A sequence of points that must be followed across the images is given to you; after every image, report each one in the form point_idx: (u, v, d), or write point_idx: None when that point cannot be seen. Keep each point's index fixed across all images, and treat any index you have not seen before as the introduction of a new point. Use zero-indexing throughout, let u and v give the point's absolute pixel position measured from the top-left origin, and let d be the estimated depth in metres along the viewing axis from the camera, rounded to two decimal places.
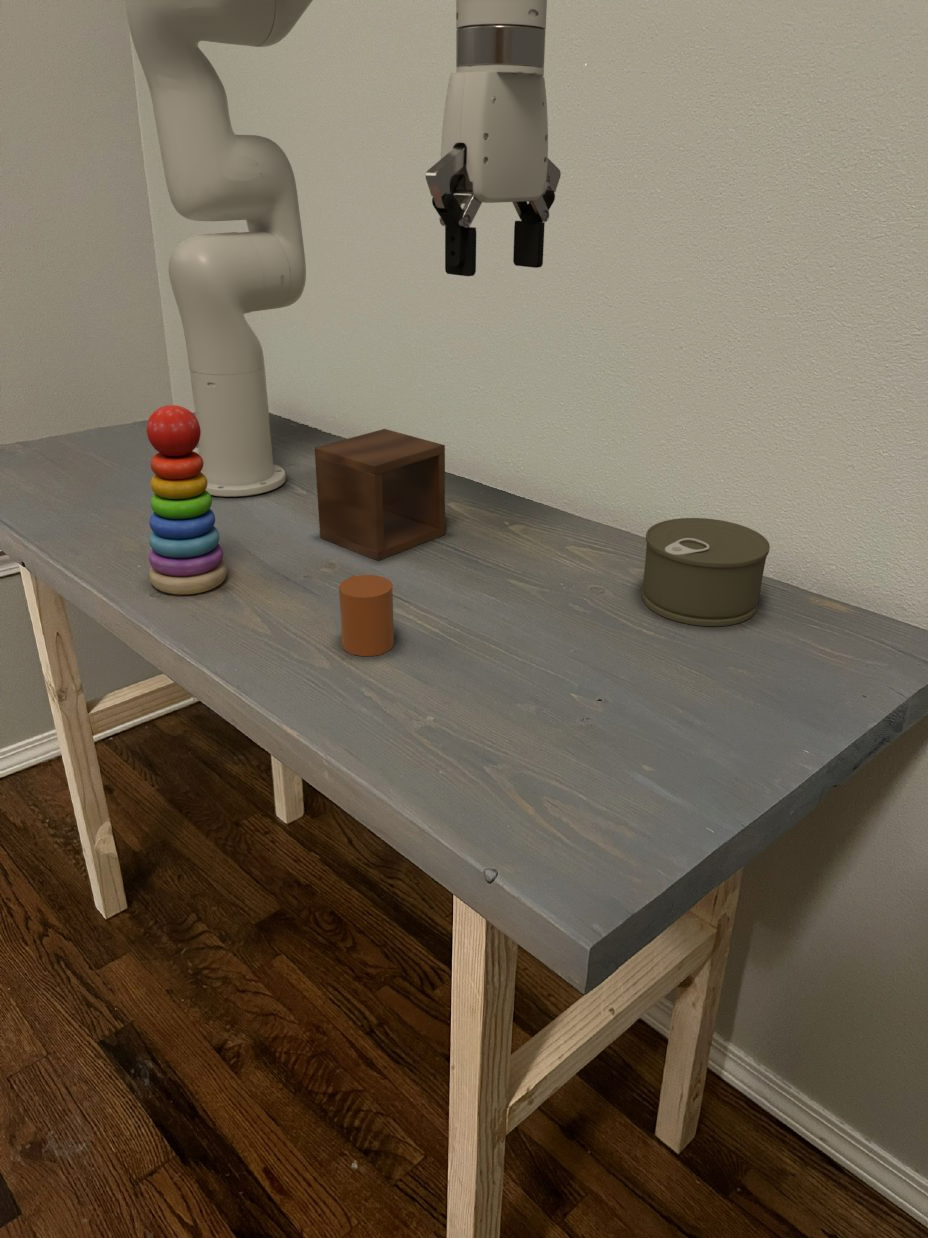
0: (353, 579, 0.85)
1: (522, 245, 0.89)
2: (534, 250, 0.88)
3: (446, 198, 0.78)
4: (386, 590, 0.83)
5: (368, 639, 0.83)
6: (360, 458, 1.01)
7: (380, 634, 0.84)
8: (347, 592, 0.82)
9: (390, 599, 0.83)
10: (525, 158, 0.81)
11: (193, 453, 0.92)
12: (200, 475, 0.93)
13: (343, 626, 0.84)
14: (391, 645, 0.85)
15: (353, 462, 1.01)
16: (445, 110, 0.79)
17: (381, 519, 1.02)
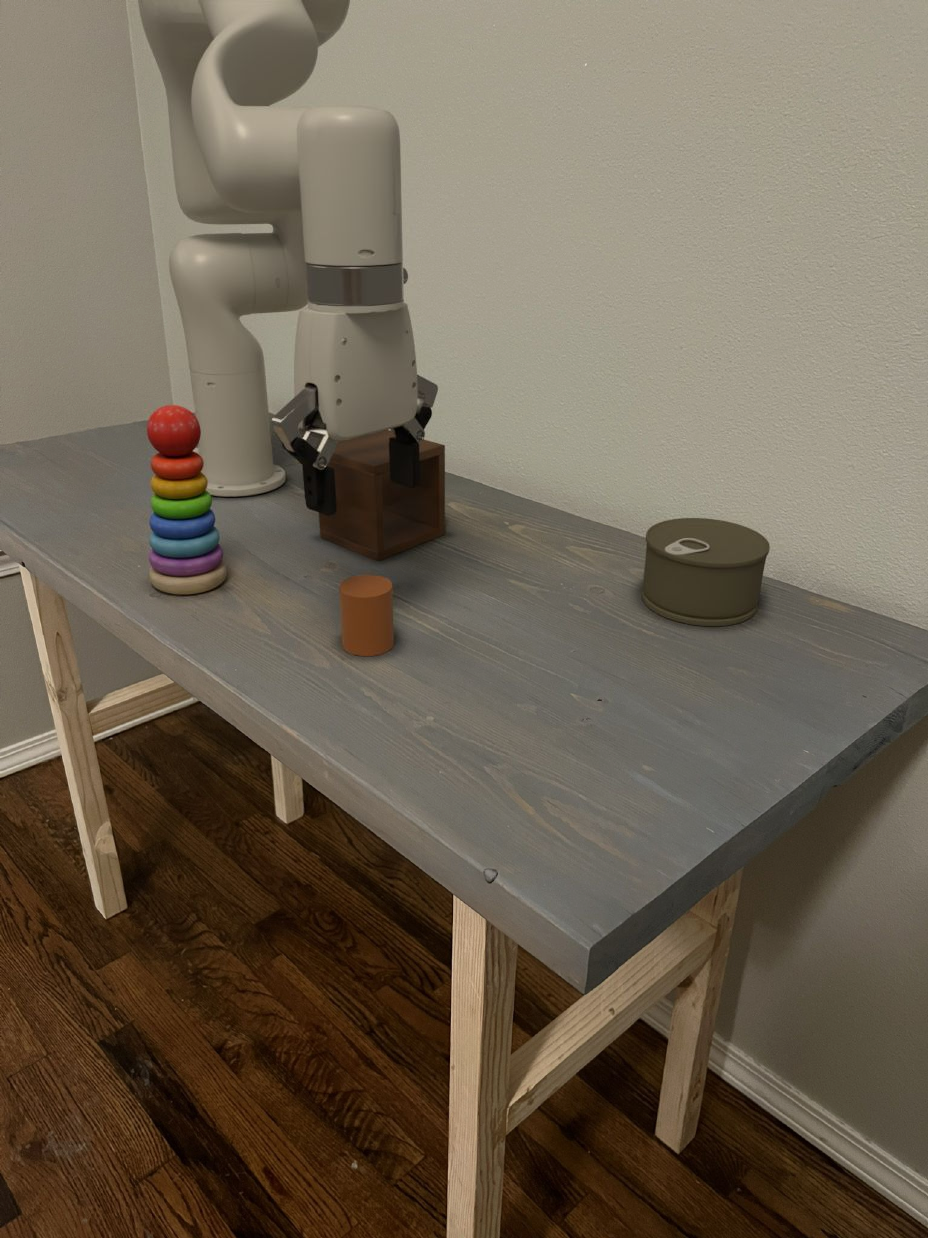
0: (353, 579, 0.85)
1: (397, 464, 0.82)
2: (409, 471, 0.81)
3: (296, 444, 0.71)
4: (386, 590, 0.83)
5: (368, 639, 0.83)
6: (360, 458, 1.01)
7: (380, 634, 0.84)
8: (347, 592, 0.82)
9: (390, 599, 0.83)
10: (388, 390, 0.75)
11: (193, 453, 0.92)
12: (200, 475, 0.93)
13: (343, 626, 0.84)
14: (391, 645, 0.85)
15: (353, 462, 1.01)
16: (295, 346, 0.72)
17: (381, 519, 1.02)
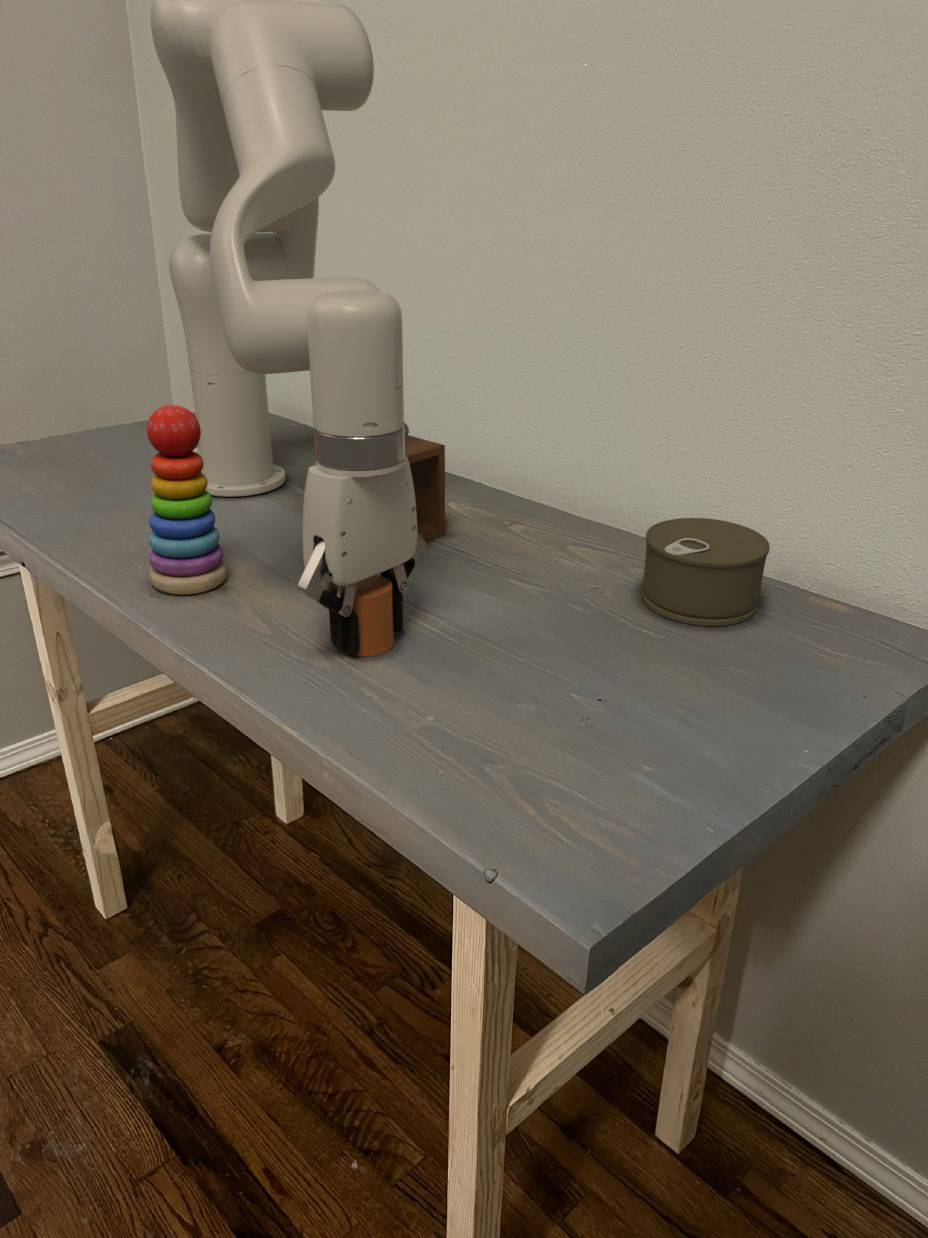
0: None
1: None
2: (393, 618, 0.86)
3: (324, 597, 0.79)
4: (386, 590, 0.83)
5: (368, 639, 0.83)
6: None
7: (380, 634, 0.84)
8: None
9: (390, 599, 0.83)
10: (390, 537, 0.80)
11: (193, 453, 0.92)
12: (200, 475, 0.93)
13: None
14: (391, 645, 0.85)
15: None
16: (304, 502, 0.78)
17: None
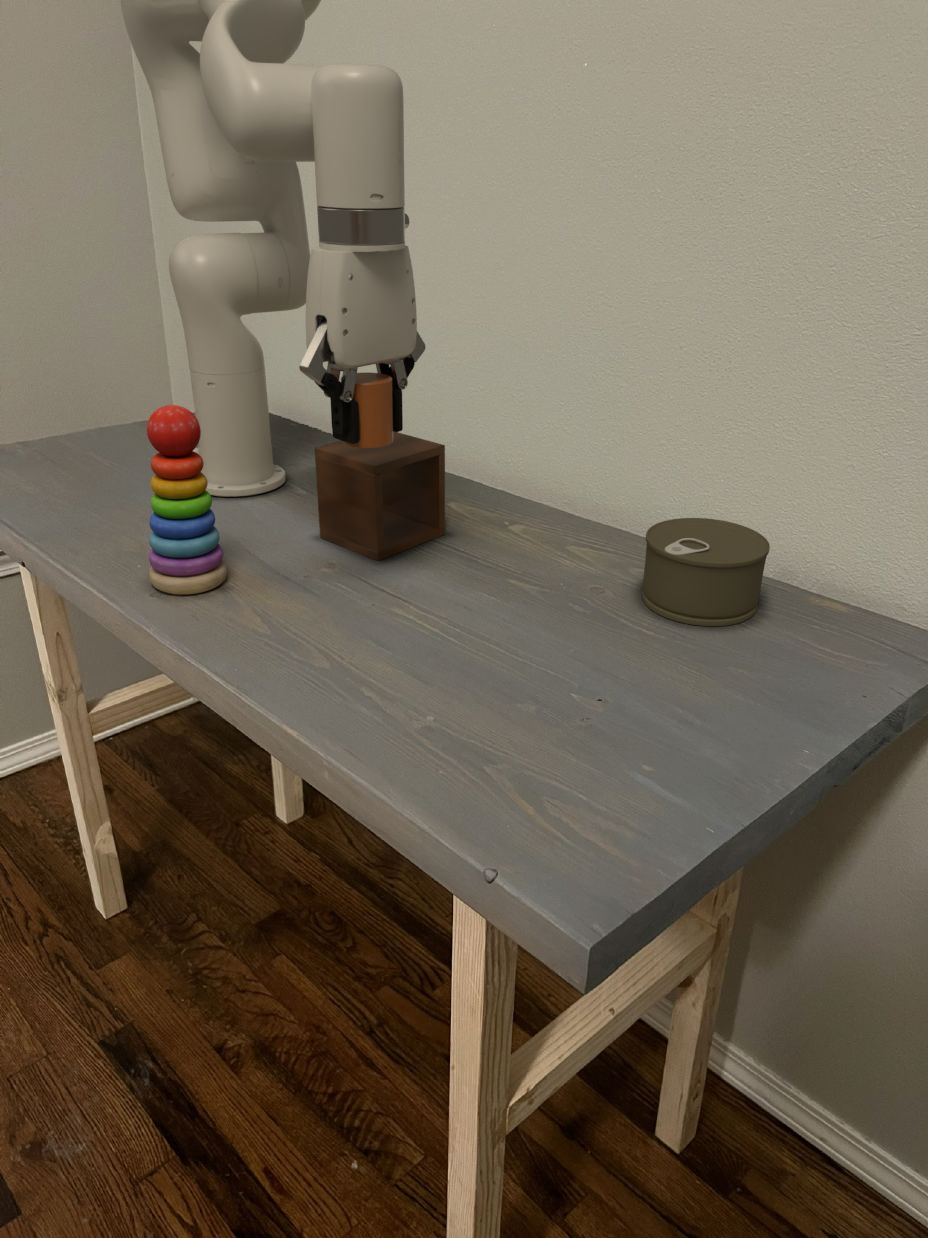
0: None
1: None
2: (393, 416, 0.89)
3: (326, 378, 0.82)
4: (386, 381, 0.85)
5: (368, 430, 0.86)
6: (360, 458, 1.01)
7: (379, 426, 0.86)
8: None
9: (390, 391, 0.86)
10: (390, 324, 0.83)
11: (193, 453, 0.92)
12: (200, 475, 0.93)
13: None
14: (390, 440, 0.88)
15: (353, 462, 1.01)
16: (307, 282, 0.81)
17: (381, 519, 1.02)
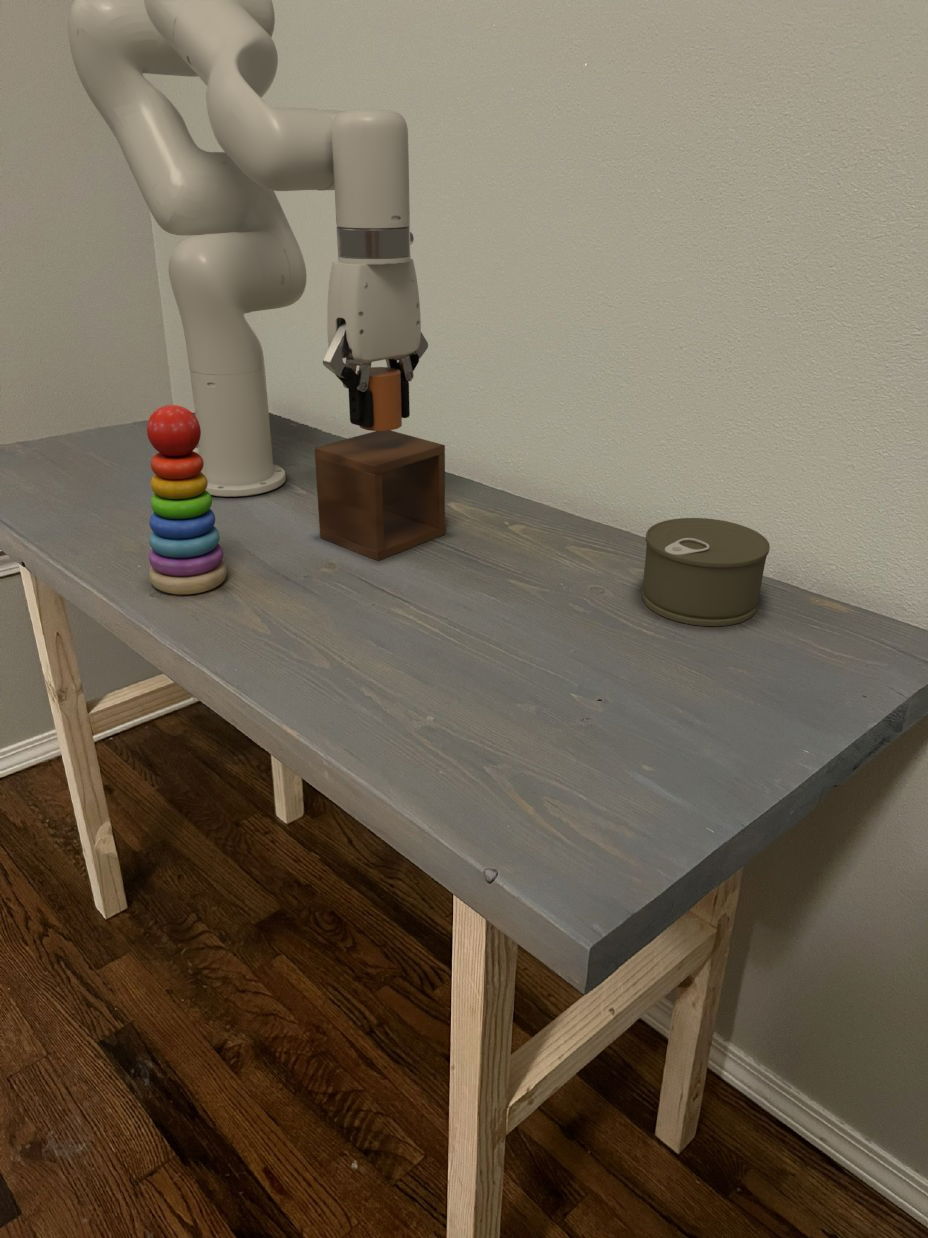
0: None
1: None
2: None
3: (345, 371, 0.97)
4: (395, 373, 1.00)
5: (381, 415, 1.01)
6: (360, 458, 1.01)
7: (390, 411, 1.01)
8: None
9: (399, 382, 1.01)
10: (398, 325, 0.98)
11: (193, 453, 0.92)
12: (200, 475, 0.93)
13: None
14: (400, 424, 1.03)
15: (353, 462, 1.01)
16: (329, 290, 0.96)
17: (381, 519, 1.02)
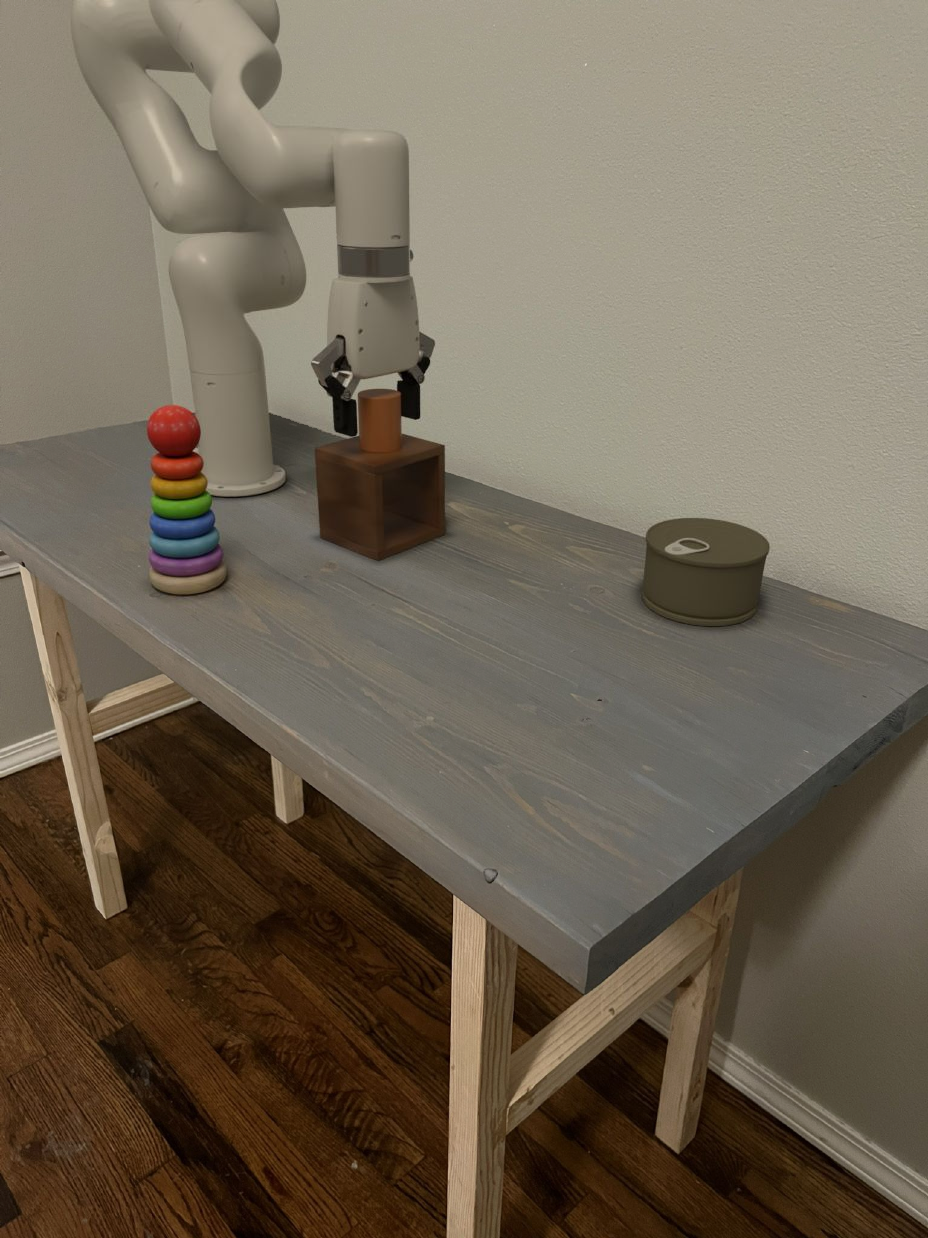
0: (369, 390, 1.04)
1: (403, 401, 1.07)
2: (412, 406, 1.06)
3: (328, 380, 0.96)
4: (396, 395, 1.01)
5: (381, 437, 1.02)
6: (360, 458, 1.01)
7: (390, 433, 1.02)
8: (364, 396, 1.01)
9: (399, 404, 1.02)
10: (397, 342, 0.99)
11: (193, 453, 0.92)
12: (200, 475, 0.93)
13: (360, 427, 1.03)
14: (400, 445, 1.04)
15: (353, 462, 1.01)
16: (329, 307, 0.96)
17: (381, 519, 1.02)
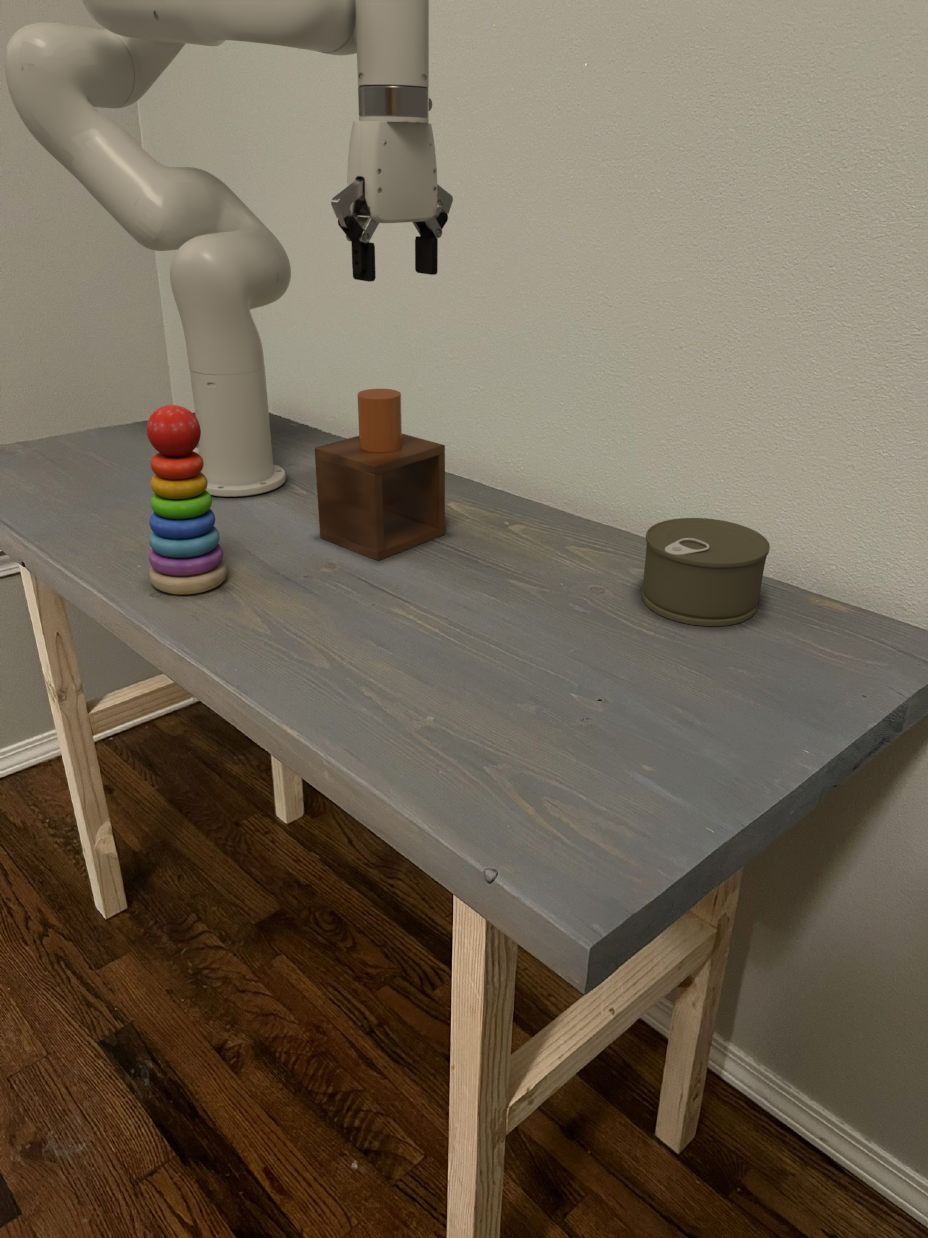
0: (369, 390, 1.04)
1: (421, 256, 1.09)
2: (430, 260, 1.08)
3: (348, 220, 0.99)
4: (396, 395, 1.01)
5: (381, 437, 1.02)
6: (360, 458, 1.01)
7: (390, 433, 1.02)
8: (364, 396, 1.01)
9: (399, 404, 1.02)
10: (415, 188, 1.02)
11: (193, 453, 0.92)
12: (200, 475, 0.93)
13: (360, 427, 1.03)
14: (400, 445, 1.04)
15: (353, 462, 1.01)
16: (349, 150, 0.99)
17: (381, 519, 1.02)
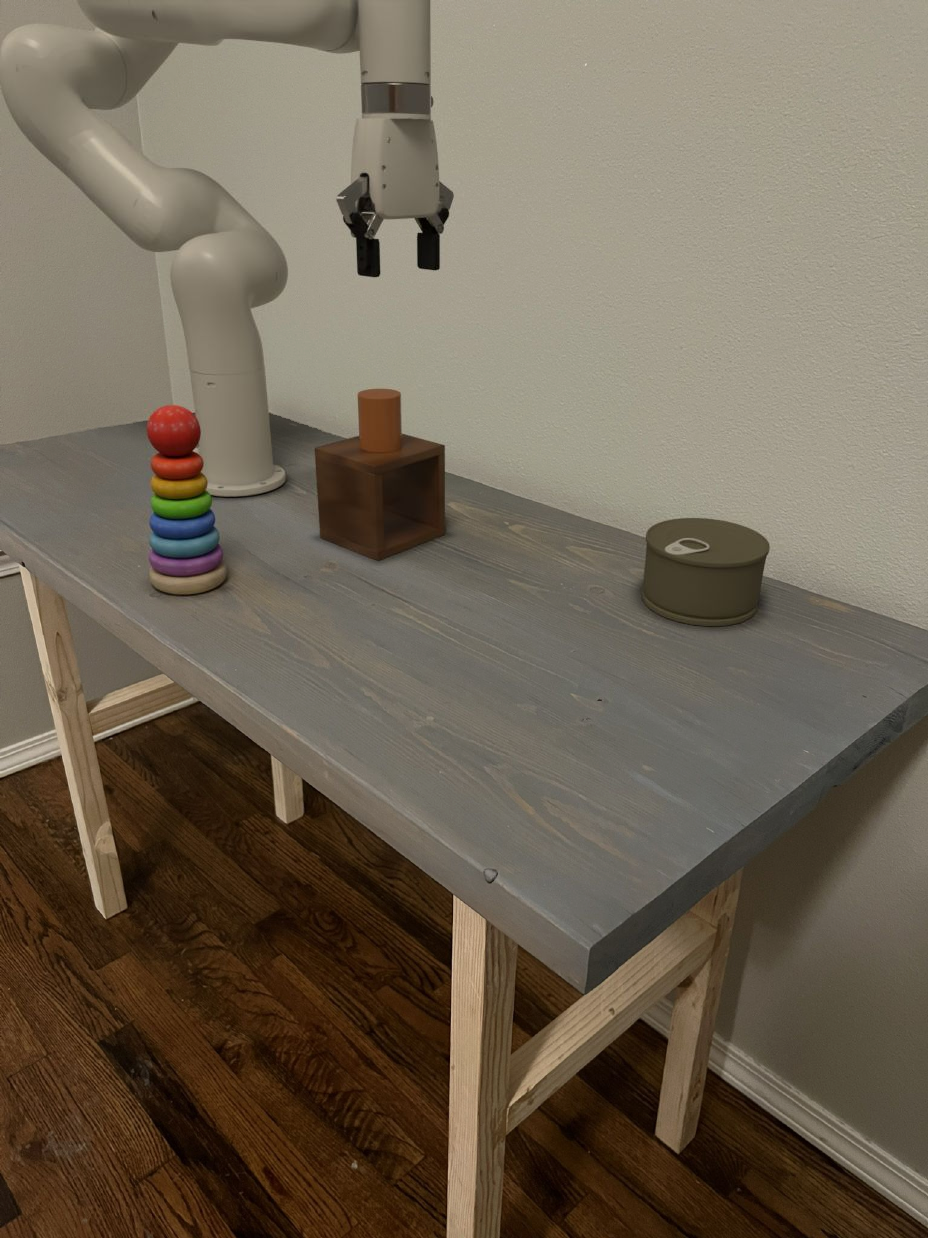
0: (369, 390, 1.04)
1: (423, 252, 1.10)
2: (432, 256, 1.10)
3: (353, 216, 1.00)
4: (396, 395, 1.01)
5: (381, 437, 1.02)
6: (360, 458, 1.01)
7: (390, 433, 1.02)
8: (364, 396, 1.01)
9: (399, 404, 1.02)
10: (418, 184, 1.03)
11: (193, 453, 0.92)
12: (200, 475, 0.93)
13: (360, 427, 1.03)
14: (400, 445, 1.04)
15: (353, 462, 1.01)
16: (353, 147, 1.00)
17: (381, 519, 1.02)
